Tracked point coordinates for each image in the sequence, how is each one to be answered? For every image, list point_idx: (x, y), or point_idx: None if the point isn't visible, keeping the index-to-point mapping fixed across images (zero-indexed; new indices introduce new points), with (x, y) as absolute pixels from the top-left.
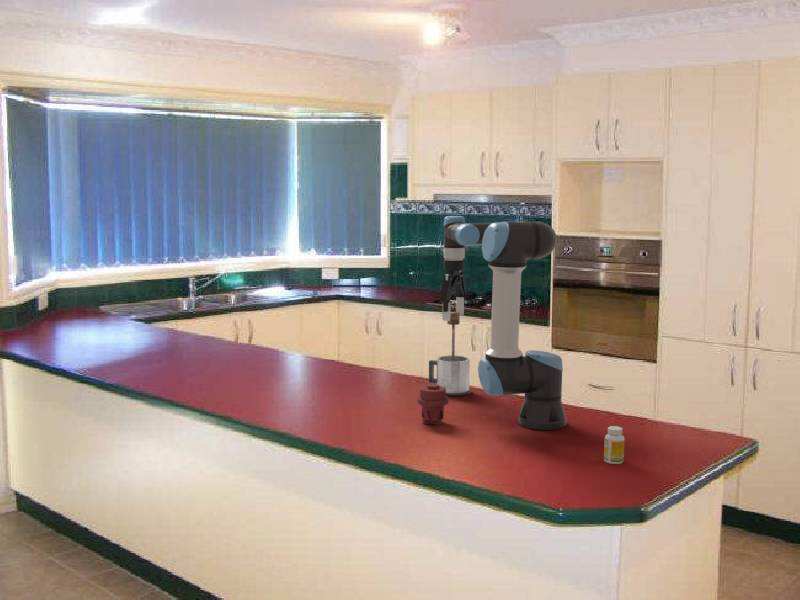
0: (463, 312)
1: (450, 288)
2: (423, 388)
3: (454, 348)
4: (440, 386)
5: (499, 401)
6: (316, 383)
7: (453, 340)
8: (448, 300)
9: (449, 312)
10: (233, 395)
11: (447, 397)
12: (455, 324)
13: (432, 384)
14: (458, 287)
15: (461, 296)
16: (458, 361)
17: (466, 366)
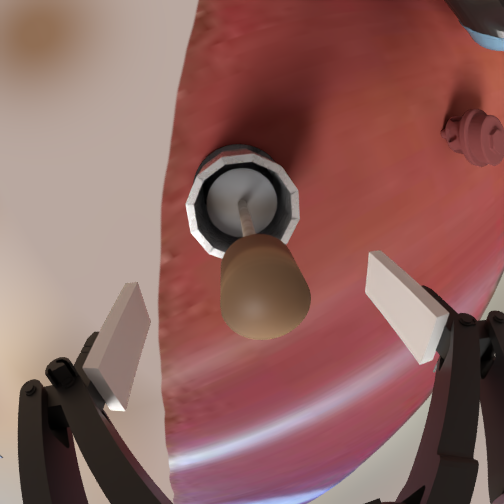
0: (124, 292)
1: (469, 432)
2: (499, 157)
3: (245, 217)
4: (484, 130)
5: (263, 55)
6: (298, 402)
7: (254, 230)
8: (476, 322)
9: (408, 275)
10: (384, 410)
11: (472, 112)
12: (283, 243)
13: (497, 144)
14: (152, 487)
15: (90, 390)
16: (196, 210)
17: (251, 152)
